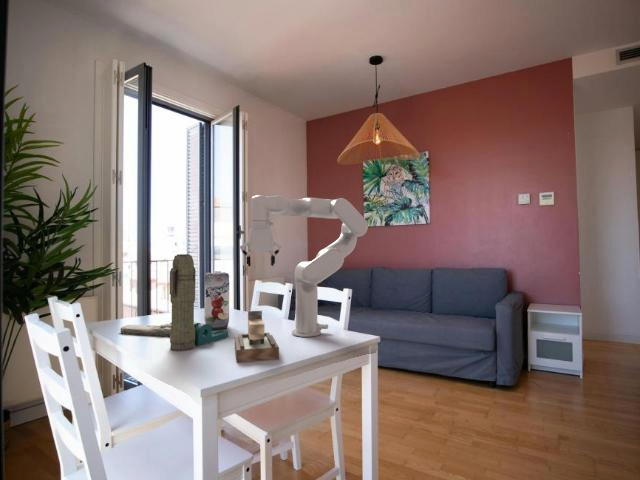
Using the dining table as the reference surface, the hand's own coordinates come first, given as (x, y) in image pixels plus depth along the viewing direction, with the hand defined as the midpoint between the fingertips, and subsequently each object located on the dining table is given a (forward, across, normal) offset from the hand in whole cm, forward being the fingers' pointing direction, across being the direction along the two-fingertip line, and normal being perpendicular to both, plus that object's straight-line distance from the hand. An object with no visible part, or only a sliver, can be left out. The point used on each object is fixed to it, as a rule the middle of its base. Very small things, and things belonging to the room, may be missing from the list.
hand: (260, 265), depth 156 cm
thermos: (+30, +31, +8) cm, 43 cm away
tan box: (+26, +5, +23) cm, 35 cm away
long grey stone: (+30, +42, -19) cm, 55 cm away
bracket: (+30, +21, -2) cm, 37 cm away
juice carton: (+30, +18, -23) cm, 41 cm away
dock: (+30, +5, +23) cm, 38 cm away
